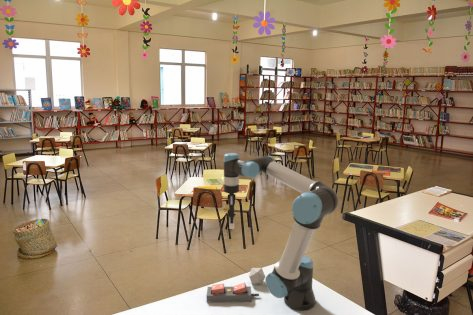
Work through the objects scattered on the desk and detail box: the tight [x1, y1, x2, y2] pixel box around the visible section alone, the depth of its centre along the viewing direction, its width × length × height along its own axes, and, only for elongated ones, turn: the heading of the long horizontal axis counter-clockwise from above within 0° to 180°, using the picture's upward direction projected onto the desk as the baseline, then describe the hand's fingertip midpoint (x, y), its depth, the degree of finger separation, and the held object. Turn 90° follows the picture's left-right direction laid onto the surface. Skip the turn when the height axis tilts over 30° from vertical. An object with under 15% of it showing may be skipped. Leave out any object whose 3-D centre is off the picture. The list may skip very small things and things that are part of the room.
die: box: [248, 267, 266, 285], centre depth 199 cm, size 8×9×10 cm
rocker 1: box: [211, 283, 225, 294], centre depth 186 cm, size 6×4×2 cm
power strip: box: [206, 285, 260, 303], centre depth 186 cm, size 26×8×4 cm, turn 90°
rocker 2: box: [233, 282, 247, 294], centre depth 186 cm, size 6×4×2 cm
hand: (231, 228), depth 190 cm, fingers closed
